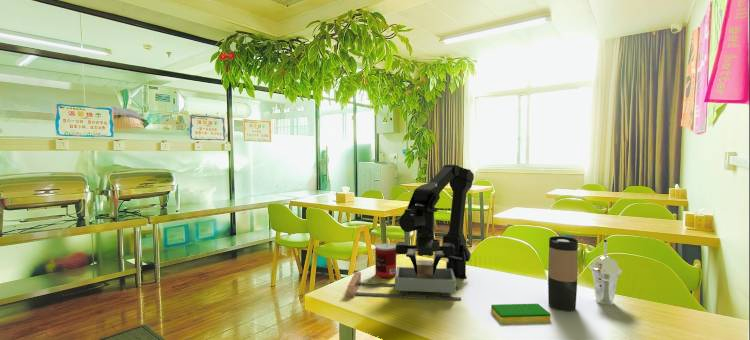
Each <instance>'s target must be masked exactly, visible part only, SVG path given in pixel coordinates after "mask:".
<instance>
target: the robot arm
mask: <svg viewBox="0 0 750 340" xmlns="http://www.w3.org/2000/svg"><path fill="white" fill-rule="evenodd" d="M474 175H475V174H474V173H473V172H472V170H471V169H470V168H465V167H462V166H460V165H458V164H453V163H452V164H444V165H443V166H442V168H441V169H440V170H439V171H438V173H436V175H435V176H433V178H431V180H430V181H428V182H427V183H424V184H421V185H419V186H418V187H416V188H415V189H414V191H413V193H412V195H411V198H410V200H409V202H408V205H407V208H406V209H404V212H403V214H401V216H400V217H399V220H398V222H399V223H398V224H399V227H400V229H401V230H402V231H403V232H406V233H411V232H415V231H416V232H415V244H409V241H397V242H396V255H405V256H406V257H407V258H409V259H410V261H411V263H412V266H413V267H414V269H415V273H416V275H417V255H418V256H420V257H422V256H427V257H433V260H432V261H433V275H434V273H435V270H436V268H438V264H439V262H440V261H441V259H447V261H445V268H446V269H453V273H454V276H455V279H467V274H466V272H467V269H466V267H467V266H466V265H467V264H466V262H470V260H471V252H470V251H469V248H468V246H467V238H466V237H465V235H464V233H463V232H464V223H465V222H464V221H465V211H466V202H467V194H468V192H469V191H470V190H471V188H472V187H473V181H474V180H475V176H474ZM447 185H449V187H450V188H451V190H452V199H451V209H450V220H449V229H448V232H447V233H446V234H444V235H443V236H442V242H441V241H440V239H439V238H438V239H437V238H436V239H435V213H437V212H438V209H437V208H436V207H435V206H436V205H437V203H438V202H439V200H440V199H441V197H440V193H441V192H442V191H443V190H444V189H445V188H446V187H447ZM440 244H441V245H440ZM416 254H417V255H416Z"/></svg>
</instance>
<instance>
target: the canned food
mask: <svg viewBox="0 0 750 340" xmlns="http://www.w3.org/2000/svg"><path fill="white" fill-rule="evenodd" d="M374 248H375V249H374V250H375V259H374V260H375V262H374V263H375V265H374V267H375V269H374V271H375V276H376V277H377V278H379V279H381V280H383V279H385V280H387V279H392V278H395V275H396V270H397V254H396V245H395V244H393V243H380V244H379V243H378V244H376V245H375V247H374Z"/></svg>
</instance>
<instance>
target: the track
mask: <svg viewBox="0 0 750 340" xmlns="http://www.w3.org/2000/svg"><path fill="white" fill-rule="evenodd" d="M361 281H362V272H359V271H354V273H353V275H352V278H350V281H349V283H348V284H347V297H348V298H355V296H361V297H362V296H363V297H364V296H365V297H383V298H386V297H387V298H405V299H407V298H408V299H429V300H447V301H448V300H449V301H462V296H450V295H449V296H448V297H444V296H443V295H424V294H423V295H421V294H406V295H402V294H401V293H400V294H399V293H381V292H379V293H378V292H362V291H361V292H360V291H359V292H358V290H359V287H360V286H375V287H393V288H395V283H388V282H387V283H386V282H385V283H382V282H381V283H380V282H364V281H363V282H361ZM456 290H459V287H458V286H457V285H456Z"/></svg>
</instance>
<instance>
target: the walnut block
mask: <svg viewBox="0 0 750 340" xmlns="http://www.w3.org/2000/svg"><path fill="white" fill-rule="evenodd" d="M416 261H417V278H423V279H433V260H427V259H426V260H423V259H416Z"/></svg>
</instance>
